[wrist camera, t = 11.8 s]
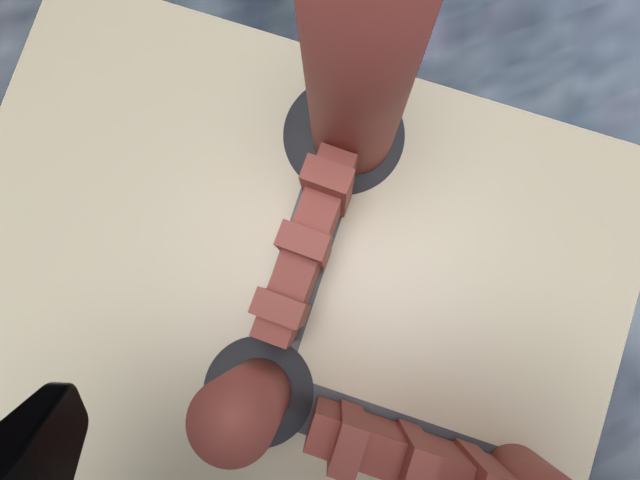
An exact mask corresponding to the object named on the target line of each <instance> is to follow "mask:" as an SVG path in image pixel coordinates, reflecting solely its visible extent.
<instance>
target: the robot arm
mask: <svg viewBox="0 0 640 480" xmlns="http://www.w3.org/2000/svg"><path fill="white" fill-rule="evenodd" d="M88 423H89V418H88V413H87V411H86V408H85V406H84V404H83V401H82V399H81V396H80V394H79V392H78V389H77V387H76V386H75V385H74V384H72V383H67V382H49V383H47V384H45V385H43V386H42V387H41V388H39V389H38V390H37V391H36V392H35V393H33V394H32V395H31V396H30V397H28V398H27V399H26V400H25V401H24V402H22V403H21V404H20V405H19V406H18V407H16V408H15V409H14V410H13V411H12V412H10V413H9V414H8V415H7V416H6V417H4V418H3V419H2V420H1V421H0V480H74V477H75V474H76V470H77V466H78V463H79V459H80V455H81V452H82V448H83V444H84V441H85V437H86V433H87V430H88Z"/></svg>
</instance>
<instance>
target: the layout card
mask: <svg viewBox="0 0 640 480" xmlns="http://www.w3.org/2000/svg"><path fill="white" fill-rule="evenodd" d="M307 153H311V154H314V155H317V153H316V151H315V149H314V145H313V139H312V132H311V124H310V117H309V110H308V102H307V95H306V87H305V80H304V72H303V65H302V57H301V50H300V43H299V42H297V41H294V40H291V39H288V38H284V37H281V36H278V35H274V34H271V33H268V32H265V31H261V30H258V29H255V28H251V27H248V26H245V25H242V24H238V23H235V22H232V21H228V20H225V19H222V18H219V17H215V16H212V15H209V14H205V13H202V12H199V11H196V10H192V9H189V8H186V7H182V6H179V5H176V4H172V3H169V2H166V1H163V0H43V1H42V3H41V6H40V8H39V11H38V13H37V16H36V18H35V21H34V24H33V26H32V29H31V31H30V34H29V36H28V39H27V41H26V44H25V46H24V49H23V51H22V54H21V56H20V59H19V61H18V64H17V66H16V69H15V71H14V74H13V76H12V79H11V81H10V84H9V86H8V89H7V91H6V94H5V96H4V99H3V101H2V104H1V106H0V421H1V420H2V419H3V418H4V417H6V416H7V415H8V414H9V413H10V412H12V411H13V410H14V409H15V408H16V407H18V406H19V405H20V404H21V403H22V402H24V401H25V400H26V399H27V398H28V397H30V396H31V395H32V394H33V393H35V392H36V391H37V390H38V389H39V388H41V387H42V386H43V385H45V384H47V383H49V382H67V383H72V384H74V385H75V386H76V387H77V389H78V392H79V394H80V396H81V399H82V401H83V404H84V406H85V408H86V411H87V413H88V418H89V423H88V430H87V433H86V437H85V441H84V444H83V448H82V452H81V455H80V459H79V463H78V466H77V470H76V474H75V477H74V480H336V479H333V478H330V477H327V476H326V472H327V461H326V460H323V459H320V458H318V457H315V456H312V455H309V454H306V453H303V449H304V444H305V439H306V435H307V430H308V427H309V424H310V420H311V417H312V414H313V411H314V408H315V405H316V402H317V399H318V396H322V397H325V398H328V399H331V400H333V401H336V402H339V403H340V401H341V399H344V400H347V401H350V402H353V403H356V404H359V405H361V406H363V409H364V411H366V412H369V413H372V414H374V415H377V416H380V417H383V418H386V419H389V420H392V421H395V422H397V419H398V418H400V419H403V420H405V421H408V422H411V423H414V424H417V425H420V426H421V428H422V429H423V431H424V432H427V433H430V434H433V435H436V436H439V437H442V438H445V439H448V440H451V441H454V440H455V438H458V439H461V440H464V441H467V442H470V443H473V444H476V445H478V446H479V447H480V448H481V449H482V450H483V451H484V452H486V453H490V452H491V451H492V450H494V449H495V448H497V447H499V446H500V445H504V444H519V445H523V446H525V447H527V448H529V449H531V450H532V451H534V452H535V453H536V454H538V455H539V456H540V457H542V458H543V459H544V460H546V461H547V462H549V463H550V464H551V465H553V466H554V467H555V468H557V469H558V470H560V471H561V472H562V473H564V474H565V475H566V476H568V477H569V478H570V479H572V480H589V476H590V472H591V469H592V465H593V461H594V457H595V454H596V450H597V446H598V443H599V439H600V435H601V432H602V428H603V424H604V421H605V417H606V413H607V409H608V406H609V402H610V398H611V395H612V391H613V387H614V384H615V380H616V376H617V373H618V369H619V365H620V361H621V358H622V354H623V350H624V347H625V343H626V339H627V336H628V332H629V328H630V325H631V321H632V317H633V313H634V310H635V306H636V302H637V299H638V295H639V291H640V145H636V144H633V143H630V142H626V141H623V140H620V139H617V138H613V137H610V136H607V135H603V134H600V133H597V132H594V131H590V130H587V129H584V128H580V127H577V126H574V125H571V124H567V123H564V122H561V121H557V120H554V119H551V118H548V117H544V116H541V115H538V114H534V113H531V112H528V111H524V110H521V109H518V108H515V107H511V106H508V105H505V104H501V103H498V102H495V101H492V100H488V99H485V98H482V97H478V96H475V95H472V94H469V93H465V92H462V91H459V90H455V89H452V88H449V87H446V86H442V85H439V84H436V83H432V82H429V81H426V80H423V79H419V78H415V81H414V84H413V87H412V90H411V93H410V95H409V98H408V101H407V104H406V107H405V110H404V112H403V115H402V118H401V121H400V124H399V127H398V129H397V132H396V135H395V138H394V141H393V143H392V146H391V149H390V151H389V154H388V155H387V157H386V159H385V160H384V161H383V162H382V163H381V164H380V165H379V166H378V167H376V168H375V169H373V170H372V171H370V172H367V173H364V174H360V175H355V177H354V184H353V190H352V197H351V200H350V202H349V205H348V208H347V211H346V213H345V216H344V217H342V216H340V218H339V221H338V223H337V226H336V229H335V231H334V234H333V237H332V240H331V242H332V252H331V254H330V257H329V260H328V262H327V265H326V268H325V271H323V270H320V272H319V275H318V278H317V281H316V283H315V286H314V289H313V291H312V294H311V297H310V300H309V302H308V303H309V304H312V306H311V309H310V312H309V314H308V317H307V320H306V323H305V325H304V326H303V327H301V328H300V329H299V330H298V332H297V335H296V338H295V340H294V343H293V344H292V345H290V346H289V347H288V348H287V349H283V348H280V347H278V346H275V345H272V344H270V343H267V342H264V341H262V340H259V339H256V338H254V337H251V336H249V334H250V331H251V328H252V326H253V323H254V320H255V318H256V315H253V314H250V313H248V310H249V307H250V304H251V302H252V299H253V296H254V294H255V291H256V288H257V286H259V287H262V288H267V286H268V283H269V280H270V278H271V275H272V272H273V270H274V267H275V264H276V262H277V259H278V256H279V254H280V250H279V249H278V248H277V247H276V246H275V245H274V244H273V243H274V241H275V238H276V235H277V233H278V230H279V228H280V225H281V222H282V220H283V219H286V220H288V221H291V222H292V219H293V216H294V214H295V211H296V208H297V206H298V203H299V200H300V198H301V195H302V193H303V192H302V188H301V185H300V181H299V178H298V177H299V174H300V172H301V169H302V167H303V164H304V161H305V159H306V156H307ZM253 358H265V359H269V360H271V361H273V362H275V363H277V364H278V365H279V366H281V367H282V368H283V370H284V371H285V372H286V374H287V376H288V378H289V380H290V384H291V400H290V403H289V406H288V408H287V410H286V412H285V414H284V417H283V419H282V421H281V423H280V425H279V427H278V429H277V432H276V434H275V436H274V438H273V440H272V442H271V444H270V446H269V448H268V449H267V451H266V452H265V453H264V455H263V456H262V457H261V458H260V459H258V460H257V461H256V462H254V463H253V464H251V465H249V466H247V467H244V468H240V469H235V470H225V469H220V468H216V467H214V466H211V465H209V464H208V463H206V462H204V461H203V460H202V459H201V458H200V457H199V456H198V455H197V454H196V453H195V452H194V450H193V449H192V447H191V445H190V443H189V441H188V438H187V434H186V427H185V421H186V413H187V410H188V407H189V404H190V402H191V400H192V399H193V397H194V396H195V394H196V393H197V392H198V391H199V390H200V389H201V388H202V387H203V386H204V385H206V384H207V383H209V382H211V381H212V380H214V379H216V378H217V377H219V376H221V375H222V374H224V373H225V372H227V371H229V370H230V369H232V368H234V367H235V366H237V365H239V364H240V363H242V362H244V361H246V360H249V359H253ZM356 480H381V479H378V478H375V477H372V476H369V475H366V474H363V473H361V472H358V474H357V477H356Z"/></svg>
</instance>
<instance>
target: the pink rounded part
mask: <svg viewBox="0 0 640 480" xmlns="http://www.w3.org/2000/svg"><path fill="white" fill-rule="evenodd" d="M442 2H443V0H294V5H295V13H296V20H297V28H298V35H299V43H300V50H301V57H302V65H303V72H304V80H305V87H306V95H307V102H308V110H309V117H310V124H311V132H312V139H313V145H314V149H315V151H316V153H317V155H314V154H311V153H307V156H306V159H305V161H304V164H303V167H302V169H301V172H300V174H299V177H298V178H299V181H300V185H301V188H302V192H303V193H302V195H301V198H300V200H299V203H298V206H297V208H296V211H295V214H294V216H293V219H292V222H291V221H288V220H286V219H283V220H282V222H281V225H280V228H279V230H278V233H277V235H276V238H275V241H274V243H273V244H274V245H275V246H276V247H277V248H278V249H279V250H280V254H279V256H278V259H277V262H276V264H275V267H274V270H273V272H272V275H271V278H270V280H269V283H268V286H267V288H262V287H259V286H257V288H256V291H255V294H254V296H253V299H252V302H251V304H250V307H249V310H248V313H250V314H253V315H256V318H255V320H254V323H253V326H252V328H251V331H250V334H249V336H251V337H254V338H256V339H259V340H262V341H264V342H267V343H270V344H272V345H275V346H278V347H280V348H283V349H287V348H288V347H289V346H290V345H292V344H293V343H294V340H295V338H296V335H297V332H298V330H299V329H300V328H301V327H303V326H304V325H305V323H306V320H307V317H308V314H309V312H310V309H311V306H312V304H309V303H308V302H309V300H310V297H311V294H312V291H313V289H314V286H315V283H316V281H317V278H318V275H319V272H320V270H323V271H325V268H326V265H327V262H328V260H329V257H330V254H331V252H332V242H331V240H332V237H333V234H334V231H335V229H336V226H337V223H338V221H339V218H340V216H342V217H344V216H345V213H346V211H347V208H348V205H349V202H350V200H351V197H352V190H353V184H354V177H355V175H360V174H364V173H367V172H370V171H372V170H373V169H375V168H376V167H378V166H379V165H380V164H381V163H382V162H383V161H384V160H385V159H386V157H387V155H388V154H389V151H390V149H391V146H392V143H393V141H394V138H395V135H396V132H397V129H398V127H399V124H400V121H401V118H402V115H403V112H404V110H405V107H406V104H407V101H408V98H409V95H410V93H411V90H412V87H413V84H414V81H415V78H416V76H417V73H418V70H419V67H420V64H421V61H422V59H423V56H424V53H425V50H426V47H427V45H428V42H429V39H430V36H431V33H432V30H433V28H434V25H435V22H436V19H437V16H438V13H439V11H440V8H441V5H442Z"/></svg>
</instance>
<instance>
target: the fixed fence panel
mask: <svg viewBox="0 0 640 480" xmlns="http://www.w3.org/2000/svg"><path fill="white" fill-rule="evenodd" d="M290 400H291V384H290V380H289V378H288V376H287V374H286V372H285V371H284V370H283V368H282V367H281V366H279V365H278V364H277V363H275V362H273V361H271V360H269V359H265V358H253V359H249V360H246V361H244V362H242V363H240V364H239V365H237V366H235V367H234V368H232V369H230V370H229V371H227V372H225V373H224V374H222V375H221V376H219V377H217V378H216V379H214V380H212V381H211V382H209V383H207V384H206V385H204V386H203V387H202V388H201V389H200V390H199V391H198V392H197V393H196V394H195V396H194V397H193V399H192V400H191V402H190V404H189V407H188V410H187V413H186V421H185V427H186V434H187V438H188V441H189V443H190V445H191V447H192V449H193V450H194V452H195V453H196V454H197V455H198V456H199V457H200V458H201V459H202V460H203V461H204V462H206V463H208V464H209V465H211V466H214V467H216V468H220V469H225V470H235V469H240V468H244V467H247V466H249V465H251V464H253V463H254V462H256V461H257V460H258V459H260V458H261V457H262V456H263V455H264V453H265V452H266V451H267V449H268V448H269V446H270V444H271V442H272V440H273V438H274V436H275V434H276V432H277V429H278V427H279V425H280V423H281V421H282V419H283V417H284V414H285V412H286V410H287V408H288V406H289V403H290ZM303 453H306V454H309V455H312V456H315V457H318V458H320V459H323V460H326V461H327V472H326V476H327V477H330V478H333V479H336V480H356V477H357V474H358V472H361V473H363V474H366V475H369V476H372V477H375V478H378V479H381V480H572V479H570V478H569V477H568V476H566V475H565V474H564V473H562V472H561V471H560V470H558V469H557V468H555V467H554V466H553V465H551V464H550V463H549V462H547V461H546V460H544V459H543V458H542V457H540V456H539V455H538V454H536V453H535V452H534V451H532V450H531V449H529V448H527V447H525V446H523V445H519V444H504V445H500V446H499V447H497V448H495V449H494V450H492V451H491V452H490V453H486V452H484V451H483V450H482V449H481V448H480V447H479V446H478V445H476V444H473V443H470V442H467V441H464V440H461V439H458V438H455V440H454V441H451V440H448V439H445V438H442V437H439V436H436V435H433V434H430V433H427V432H424V431H423V429H422V428H421V426H420V425H417V424H414V423H411V422H408V421H405V420H403V419H400V418H398V419H397V422H395V421H392V420H389V419H386V418H383V417H380V416H377V415H374V414H372V413H369V412H366V411H364V409H363V406H361V405H359V404H356V403H353V402H350V401H347V400H344V399H341V401H340V403H339V402H336V401H333V400H331V399H328V398H325V397H322V396H318V399H317V402H316V405H315V408H314V411H313V414H312V417H311V420H310V424H309V427H308V430H307V435H306V439H305V444H304V449H303Z"/></svg>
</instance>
